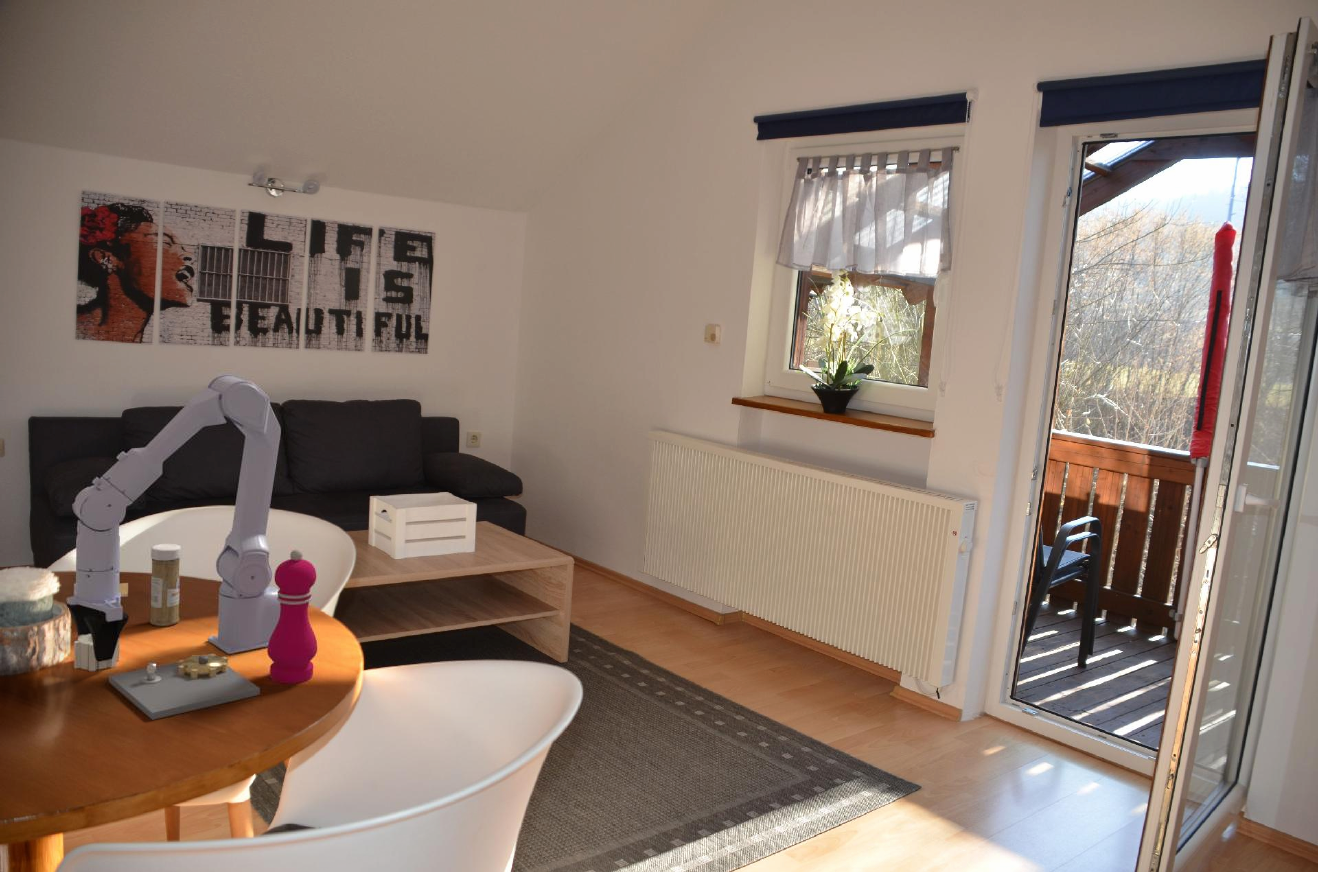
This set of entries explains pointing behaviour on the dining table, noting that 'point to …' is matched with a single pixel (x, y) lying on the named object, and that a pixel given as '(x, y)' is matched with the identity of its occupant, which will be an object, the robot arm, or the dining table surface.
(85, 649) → the gear
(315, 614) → the dining table surface
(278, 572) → the pepper mill
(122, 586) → the architectural model
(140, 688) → the gear board
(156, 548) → the sprinkles bottle
